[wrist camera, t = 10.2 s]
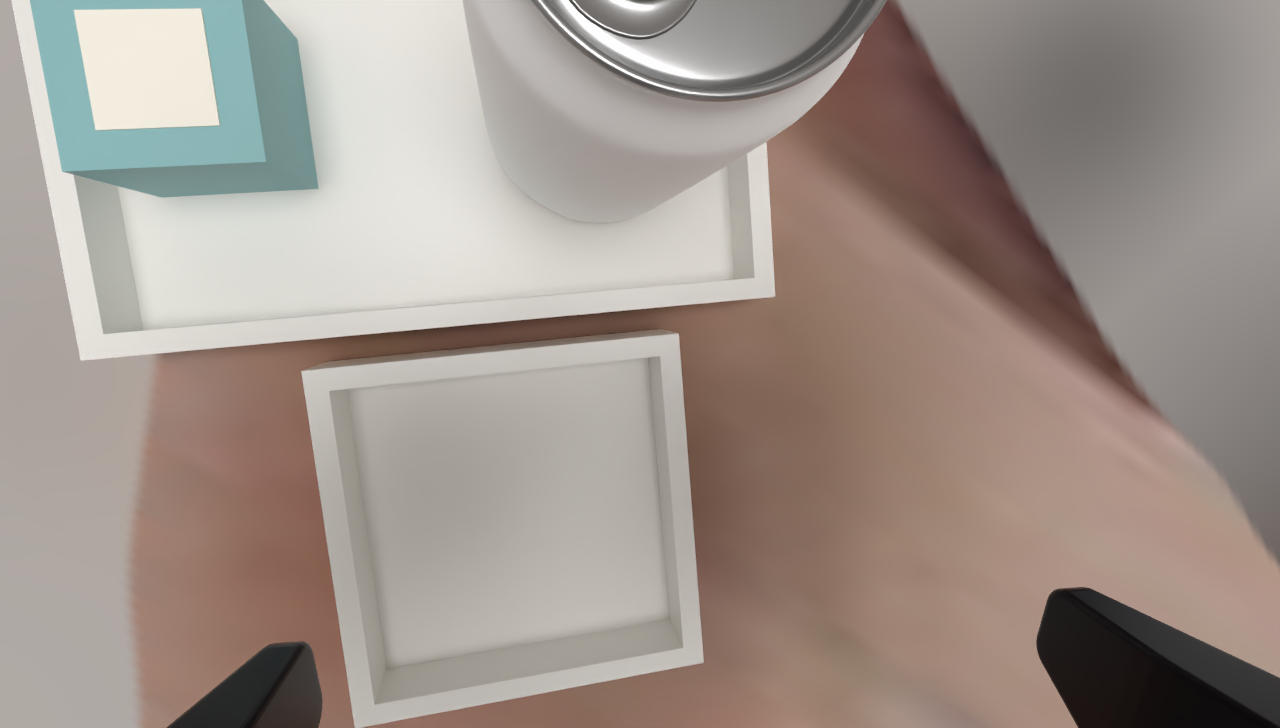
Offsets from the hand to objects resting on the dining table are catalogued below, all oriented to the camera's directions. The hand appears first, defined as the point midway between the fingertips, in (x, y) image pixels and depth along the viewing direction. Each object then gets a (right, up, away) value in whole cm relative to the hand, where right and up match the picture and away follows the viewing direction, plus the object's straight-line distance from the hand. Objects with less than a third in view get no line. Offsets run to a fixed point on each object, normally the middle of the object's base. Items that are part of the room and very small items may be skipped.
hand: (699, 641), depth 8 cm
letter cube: (-12, +10, +10) cm, 18 cm away
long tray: (-7, +11, +11) cm, 17 cm away
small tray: (-5, -1, +13) cm, 14 cm away
